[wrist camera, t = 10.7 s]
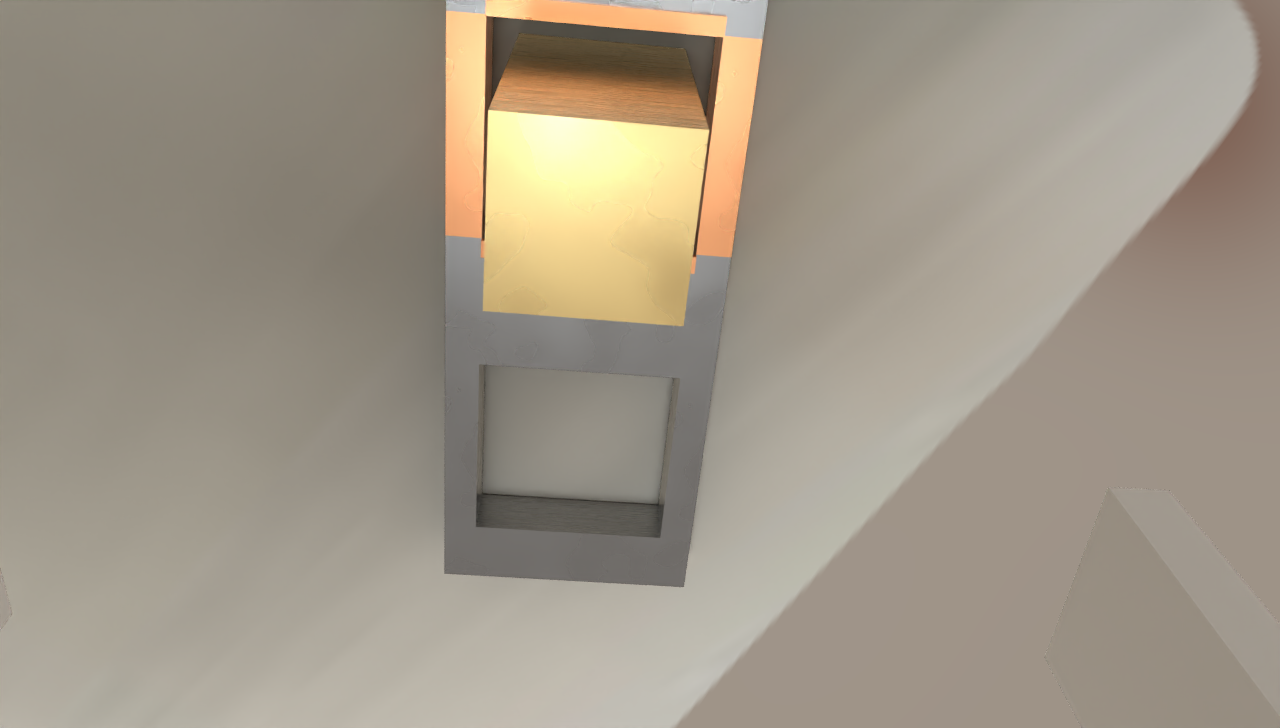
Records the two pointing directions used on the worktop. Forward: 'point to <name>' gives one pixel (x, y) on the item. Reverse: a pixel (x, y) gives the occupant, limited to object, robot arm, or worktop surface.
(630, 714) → the worktop surface
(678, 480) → the grey slotted board
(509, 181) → the block
